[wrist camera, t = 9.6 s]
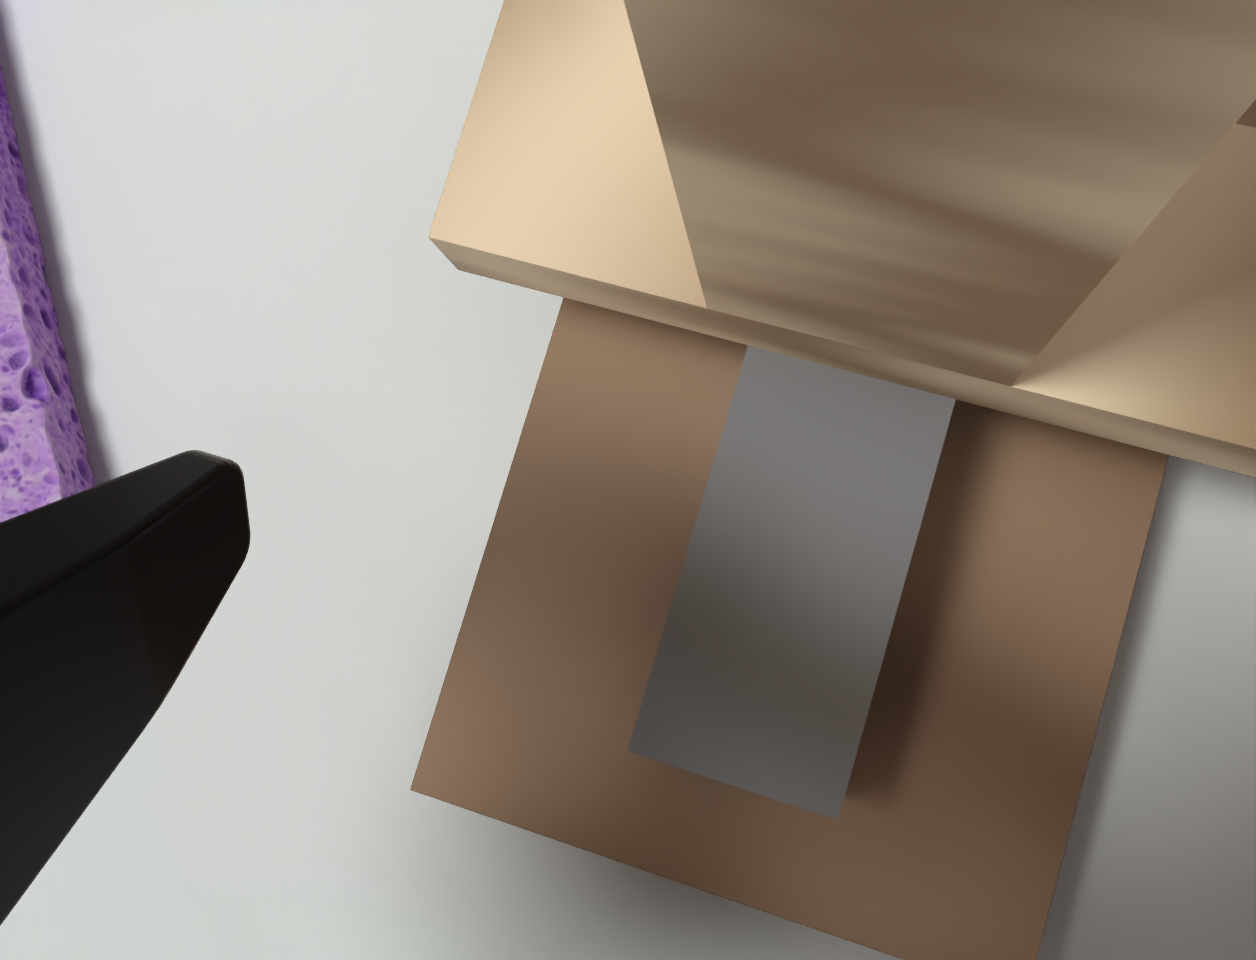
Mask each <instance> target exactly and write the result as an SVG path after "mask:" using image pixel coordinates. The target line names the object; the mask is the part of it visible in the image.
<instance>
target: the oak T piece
mask: <svg viewBox="0 0 1256 960" xmlns="http://www.w3.org/2000/svg"><path fill="white" fill-rule="evenodd" d="M1255 100H1256V0H504V2H503V6H502V9H501V12H500V15H499V18H498V21H497V24H496V27H495V30H494V34H493V37H492V40H491V43H490V46H489V49H488V52H487V55H486V58H485V62H484V65H483V68H482V71H481V74H480V77H479V80H478V83H477V86H476V89H475V93H474V96H473V99H472V102H471V105H470V108H469V111H468V114H467V117H466V121H465V124H464V127H463V130H462V133H461V136H460V139H459V142H458V145H457V149H456V152H455V155H454V158H453V161H452V164H451V167H450V170H449V173H448V176H447V180H446V183H445V186H444V189H443V192H442V195H441V198H440V201H439V204H438V208H437V211H436V214H435V217H434V220H433V223H432V226H431V229H430V232H429V236H428V237H429V238H430V240H431V241H432V242H433V243H434V244H435V245H436V246H437V247H438V248H439V249H440V250H441V252H442V253H443V254H444V255H445V256H446V257H447V258H448V259H449V260H450V261H451V262H452V264H453V265H454V266H455V267H456V268H457V269H458V270H461V271H465V272H469V273H472V274H476V275H480V276H484V277H488V278H492V279H495V280H499V281H503V282H507V283H511V284H515V285H518V286H522V287H526V288H530V289H534V290H538V291H541V292H545V293H549V294H553V295H557V296H561V297H565V298H568V299H572V300H576V301H580V302H584V303H588V304H591V305H595V306H599V307H603V308H607V309H611V310H614V311H618V312H622V313H626V314H630V315H634V316H638V317H641V318H645V319H649V320H653V321H657V322H661V323H664V324H668V325H672V326H676V327H680V328H684V329H687V330H691V331H695V332H699V333H703V334H707V335H710V336H714V337H718V338H722V339H726V340H730V341H734V342H737V343H741V344H745V345H749V346H753V347H757V348H760V349H764V350H768V351H772V352H776V353H780V354H783V355H787V356H791V357H795V358H799V359H803V360H807V361H810V362H814V363H818V364H822V365H826V366H830V367H833V368H837V369H841V370H845V371H849V372H853V373H856V374H860V375H864V376H868V377H872V378H876V379H880V380H883V381H887V382H891V383H895V384H899V385H903V386H906V387H910V388H914V389H918V390H922V391H926V392H929V393H933V394H937V395H941V396H945V397H949V398H952V399H956V400H960V401H964V402H968V403H972V404H976V405H979V406H983V407H987V408H991V409H995V410H999V411H1002V412H1006V413H1010V414H1014V415H1018V416H1022V417H1025V418H1029V419H1033V420H1037V421H1041V422H1045V423H1049V424H1052V425H1056V426H1060V427H1064V428H1068V429H1072V430H1075V431H1079V432H1083V433H1087V434H1091V435H1095V436H1098V437H1102V438H1106V439H1110V440H1114V441H1118V442H1121V443H1125V444H1129V445H1133V446H1137V447H1141V448H1145V449H1148V450H1152V451H1156V452H1160V453H1164V454H1168V455H1171V456H1175V457H1179V458H1183V459H1187V460H1191V461H1194V462H1198V463H1202V464H1206V465H1210V466H1214V467H1218V468H1221V469H1225V470H1229V471H1233V472H1237V473H1241V474H1244V475H1248V476H1252V477H1256V128H1254V127H1250V126H1245V125H1240V124H1236V122H1237V121H1238V120H1239V119H1240V117H1241V116H1242V115H1243V114H1244V113H1245V112H1246V110H1247V109H1248V108H1249V107H1250V106H1251V104H1252V103H1253V102H1254V101H1255Z"/></svg>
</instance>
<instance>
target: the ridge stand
mask: <svg viewBox="0 0 1256 960" xmlns="http://www.w3.org/2000/svg"><path fill="white" fill-rule="evenodd" d="M1236 124H1240V125H1245V126H1250V127H1254V128H1255V124H1256V100H1255V101H1254V102H1253V103H1252V104H1251V106H1250V107H1249V108H1248V109H1247V110H1246V112H1245V113H1244V114H1243V115H1242V116H1241V117H1240V119H1239V120H1238V121H1237V122H1236ZM1167 459H1168V454H1164V453H1160V452H1156V451H1152V450H1148V449H1145V448H1141V447H1137V446H1133V445H1129V444H1125V443H1121V442H1118V441H1114V440H1110V439H1106V438H1102V437H1098V436H1095V435H1091V434H1087V433H1083V432H1079V431H1075V430H1072V429H1068V428H1064V427H1060V426H1056V425H1052V424H1049V423H1045V422H1041V421H1037V420H1033V419H1029V418H1025V417H1022V416H1018V415H1014V414H1010V413H1006V412H1002V411H999V410H995V409H991V408H987V407H983V406H979V405H976V404H972V403H968V402H964V401H960V400H956V399H952V398H949V397H945V396H941V395H937V394H933V393H929V392H926V391H922V390H918V389H914V388H910V387H906V386H903V385H899V384H895V383H891V382H887V381H883V380H880V379H876V378H872V377H868V376H864V375H860V374H856V373H853V372H849V371H845V370H841V369H837V368H833V367H830V366H826V365H822V364H818V363H814V362H810V361H807V360H803V359H799V358H795V357H791V356H787V355H783V354H780V353H776V352H772V351H768V350H764V349H760V348H757V347H753V346H749V345H745V344H741V343H737V342H734V341H730V340H726V339H722V338H718V337H714V336H710V335H707V334H703V333H699V332H695V331H691V330H687V329H684V328H680V327H676V326H672V325H668V324H664V323H661V322H657V321H653V320H649V319H645V318H641V317H638V316H634V315H630V314H626V313H622V312H618V311H614V310H611V309H607V308H603V307H599V306H595V305H591V304H588V303H584V302H580V301H576V300H572V299H568V298H565V297H564V298H563V301H562V304H561V308H560V311H559V314H558V317H557V320H556V324H555V327H554V330H553V333H552V336H551V340H550V343H549V346H548V349H547V353H546V356H545V359H544V362H543V365H542V369H541V372H540V375H539V378H538V381H537V385H536V388H535V391H534V394H533V397H532V401H531V404H530V407H529V410H528V413H527V417H526V420H525V423H524V426H523V430H522V433H521V436H520V439H519V442H518V446H517V449H516V452H515V455H514V458H513V462H512V465H511V468H510V471H509V474H508V478H507V481H506V484H505V487H504V490H503V494H502V497H501V500H500V503H499V506H498V510H497V513H496V516H495V519H494V523H493V526H492V529H491V532H490V535H489V539H488V542H487V545H486V548H485V551H484V555H483V558H482V561H481V564H480V567H479V571H478V574H477V577H476V580H475V583H474V587H473V590H472V593H471V596H470V599H469V603H468V606H467V609H466V612H465V616H464V619H463V622H462V625H461V628H460V632H459V635H458V638H457V641H456V644H455V648H454V651H453V654H452V657H451V660H450V664H449V667H448V670H447V673H446V676H445V680H444V683H443V686H442V689H441V693H440V696H439V699H438V702H437V705H436V709H435V712H434V715H433V718H432V721H431V725H430V728H429V731H428V734H427V737H426V741H425V744H424V747H423V750H422V753H421V757H420V760H419V763H418V766H417V769H416V773H415V776H414V779H413V782H412V786H411V789H410V790H412V791H415V792H418V793H421V794H424V795H427V796H430V797H433V798H436V799H439V800H441V801H444V802H447V803H450V804H453V805H456V806H459V807H462V808H465V809H468V810H470V811H473V812H476V813H479V814H482V815H485V816H488V817H491V818H494V819H497V820H500V821H502V822H505V823H508V824H511V825H514V826H517V827H520V828H523V829H526V830H529V831H532V832H534V833H537V834H540V835H543V836H546V837H549V838H552V839H555V840H558V841H561V842H563V843H566V844H569V845H572V846H575V847H578V848H581V849H584V850H587V851H590V852H593V853H595V854H598V855H601V856H604V857H607V858H610V859H613V860H616V861H619V862H622V863H625V864H627V865H630V866H633V867H636V868H639V869H642V870H645V871H648V872H651V873H654V874H656V875H659V876H662V877H665V878H668V879H671V880H674V881H677V882H680V883H683V884H686V885H688V886H691V887H694V888H697V889H700V890H703V891H706V892H709V893H712V894H715V895H718V896H720V897H723V898H726V899H729V900H732V901H735V902H738V903H741V904H744V905H747V906H749V907H752V908H755V909H758V910H761V911H764V912H767V913H770V914H773V915H776V916H779V917H781V918H784V919H787V920H790V921H793V922H796V923H799V924H802V925H805V926H808V927H811V928H813V929H816V930H819V931H822V932H825V933H828V934H831V935H834V936H837V937H840V938H842V939H845V940H848V941H851V942H854V943H857V944H860V945H863V946H866V947H869V948H872V949H874V950H877V951H880V952H883V953H886V954H889V955H892V956H895V957H898V958H901V959H904V960H1036V958H1037V954H1038V950H1039V946H1040V942H1041V938H1042V935H1043V931H1044V927H1045V923H1046V919H1047V916H1048V912H1049V908H1050V904H1051V900H1052V897H1053V893H1054V889H1055V885H1056V881H1057V878H1058V874H1059V870H1060V866H1061V862H1062V859H1063V855H1064V851H1065V847H1066V843H1067V840H1068V836H1069V832H1070V828H1071V824H1072V821H1073V817H1074V813H1075V809H1076V805H1077V802H1078V798H1079V794H1080V790H1081V786H1082V782H1083V779H1084V775H1085V771H1086V767H1087V763H1088V760H1089V756H1090V752H1091V748H1092V744H1093V741H1094V737H1095V733H1096V729H1097V725H1098V722H1099V718H1100V714H1101V710H1102V706H1103V703H1104V699H1105V695H1106V691H1107V687H1108V684H1109V680H1110V676H1111V672H1112V668H1113V665H1114V661H1115V657H1116V653H1117V649H1118V646H1119V642H1120V638H1121V634H1122V630H1123V626H1124V623H1125V619H1126V615H1127V611H1128V607H1129V604H1130V600H1131V596H1132V592H1133V588H1134V585H1135V581H1136V577H1137V573H1138V569H1139V566H1140V562H1141V558H1142V554H1143V550H1144V547H1145V543H1146V539H1147V535H1148V531H1149V528H1150V524H1151V520H1152V516H1153V512H1154V509H1155V505H1156V501H1157V497H1158V493H1159V490H1160V486H1161V482H1162V478H1163V474H1164V470H1165V467H1166V463H1167Z"/></svg>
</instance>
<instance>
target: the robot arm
mask: <svg viewBox="0 0 1256 960" xmlns="http://www.w3.org/2000/svg"><path fill="white" fill-rule="evenodd" d="M249 545H250V526H249V517H248V509H247V501H246V492H245V484H244V477H243V472H242V470H241V468H240V467H239V465H238V464H237V463H235V462H234V461H232V460H229V459H226V458H223V457H219V456H216V455H213V454H209V453H206V452H203V451H197V450H191V451H186V452H183V453H180V454H177V455H175V456H172V457H169V458H167V459H164V460H162V461H159V462H156V463H154V464H151V465H149V466H146V467H143V468H141V469H138V470H136V471H133V472H130V473H128V474H125V475H123V476H120V477H117V478H115V479H112V480H110V481H107V482H104V483H102V484H99V485H96V486H94V487H91V488H89V489H86V490H83V491H81V492H78V493H76V494H73V495H70V496H68V497H65V498H63V499H60V500H57V501H55V502H52V503H50V504H47V505H44V506H42V507H39V508H36V509H34V510H31V511H29V512H26V513H23V514H21V515H18V516H16V517H13V518H10V519H8V520H5V521H3V522H0V925H1V924H2V923H3V921H4V920H5V919H6V917H7V916H8V915H9V913H10V912H11V910H12V909H13V908H14V906H15V905H16V904H17V902H18V901H19V900H20V898H21V897H22V895H23V894H24V893H25V891H26V890H27V889H28V887H29V886H30V885H31V883H32V882H33V880H34V879H35V878H36V876H37V875H38V874H39V872H40V871H41V869H42V868H43V867H44V865H45V864H46V863H47V861H48V860H49V859H50V857H51V856H52V854H53V853H54V852H55V850H56V849H57V848H58V846H59V845H60V844H61V842H62V841H63V839H64V838H65V837H66V835H67V834H68V833H69V831H70V830H71V828H72V827H73V826H74V824H75V823H76V822H77V820H78V819H79V818H80V816H81V815H82V813H83V812H84V811H85V809H86V808H87V807H88V805H89V804H90V803H91V801H92V800H93V798H94V797H95V796H96V794H97V793H98V792H99V790H100V789H101V788H102V786H103V785H104V783H105V782H106V781H107V779H108V778H109V777H110V775H111V774H112V772H113V771H114V770H115V768H116V767H117V766H118V764H119V763H120V762H121V760H122V759H123V757H124V756H125V755H126V753H127V752H128V751H129V749H130V748H131V747H132V745H133V744H134V742H135V741H136V740H137V738H138V737H139V736H140V734H141V733H142V732H143V730H144V729H145V727H146V726H147V724H148V723H149V722H150V720H151V719H152V717H153V716H154V714H155V713H156V711H157V710H158V709H159V707H160V706H161V704H162V702H163V701H164V699H165V697H166V696H167V694H168V693H169V691H170V689H171V688H172V686H173V684H174V683H175V681H176V679H177V678H178V676H179V674H180V672H181V671H182V669H183V667H184V665H185V664H186V662H187V660H188V658H189V657H190V655H191V653H192V651H193V650H194V648H195V646H196V644H197V643H198V641H199V639H200V637H201V636H202V634H203V632H204V631H205V629H206V627H207V625H208V624H209V622H210V620H211V618H212V617H213V615H214V613H215V611H216V610H217V608H218V606H219V604H220V603H221V601H222V599H223V597H224V596H225V594H226V592H227V590H228V589H229V587H230V585H231V583H232V582H233V580H234V578H235V577H236V575H237V573H238V571H239V570H240V568H241V566H242V564H243V562H244V560H245V558H246V555H247V553H248V549H249Z"/></svg>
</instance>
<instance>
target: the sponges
mask: <svg viewBox="0 0 1256 960" xmlns="http://www.w3.org/2000/svg"><path fill="white" fill-rule="evenodd" d="M44 269H45V259H44V256H43V251H42V245H41V241H40V235H39V231H38V227H37V224H36V220H35V216H34V211H33V206H32V203H31V201H30V199H29V197H28V195H27V180H26V175H25V171H24V167H23V164H22V162H21V159H20V156H19V149H18V145H17V136H16V132H15V129H14V125H13V118H12V112H11V108H10V106H9V103H8V98H7V95H6V90H5V84H4V77H3V73H2V68H1V59H0V522H3V521H5V520H8V519H10V518H13V517H16V516H18V515H21V514H23V513H26V512H29V511H31V510H34V509H36V508H39V507H42V506H44V505H47V504H50V503H52V502H55V501H57V500H60V499H63V498H65V497H68V496H70V495H73V494H76V493H78V492H81V491H83V490H86V489H89V488H91V487H94V486H96V484H95V480H94V475H93V472H92V468H91V466H90V464H89V462H88V460H87V454H88V449H87V445H86V441H85V435H84V431H83V428H82V425H81V421H80V417H79V414H78V411H77V407H76V404H75V398H74V395H73V393H72V390H71V378H70V373H69V369H68V364H67V361H66V354H65V348H64V344H63V342H62V341H61V339H60V336H59V333H58V318H57V314H56V310H55V306H54V302H53V299H52V296H51V289H50V287H49V286H48V285H47V284H46V281H45V278H44V275H43V274H44Z"/></svg>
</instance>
